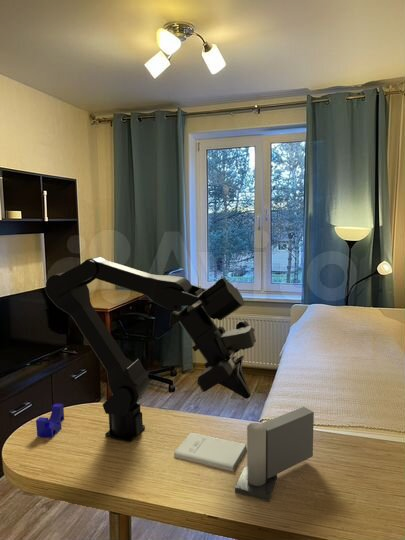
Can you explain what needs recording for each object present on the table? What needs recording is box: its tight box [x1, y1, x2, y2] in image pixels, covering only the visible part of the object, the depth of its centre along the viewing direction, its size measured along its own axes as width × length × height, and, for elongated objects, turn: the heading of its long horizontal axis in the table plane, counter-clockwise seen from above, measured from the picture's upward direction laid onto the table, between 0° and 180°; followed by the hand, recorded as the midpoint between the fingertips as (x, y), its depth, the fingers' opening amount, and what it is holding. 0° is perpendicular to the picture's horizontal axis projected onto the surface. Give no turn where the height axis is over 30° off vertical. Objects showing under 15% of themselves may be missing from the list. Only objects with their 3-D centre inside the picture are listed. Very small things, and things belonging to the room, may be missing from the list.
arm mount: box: [234, 466, 278, 502], centre depth 72 cm, size 6×6×1 cm
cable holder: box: [35, 403, 65, 439], centre depth 92 cm, size 8×4×4 cm, turn 170°
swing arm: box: [246, 406, 315, 486], centre depth 74 cm, size 3×15×10 cm, turn 124°
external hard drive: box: [173, 432, 247, 472], centre depth 82 cm, size 2×8×12 cm
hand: (248, 397), depth 81 cm, fingers closed
